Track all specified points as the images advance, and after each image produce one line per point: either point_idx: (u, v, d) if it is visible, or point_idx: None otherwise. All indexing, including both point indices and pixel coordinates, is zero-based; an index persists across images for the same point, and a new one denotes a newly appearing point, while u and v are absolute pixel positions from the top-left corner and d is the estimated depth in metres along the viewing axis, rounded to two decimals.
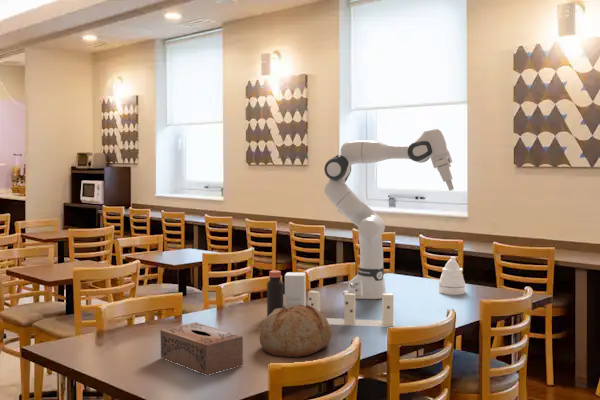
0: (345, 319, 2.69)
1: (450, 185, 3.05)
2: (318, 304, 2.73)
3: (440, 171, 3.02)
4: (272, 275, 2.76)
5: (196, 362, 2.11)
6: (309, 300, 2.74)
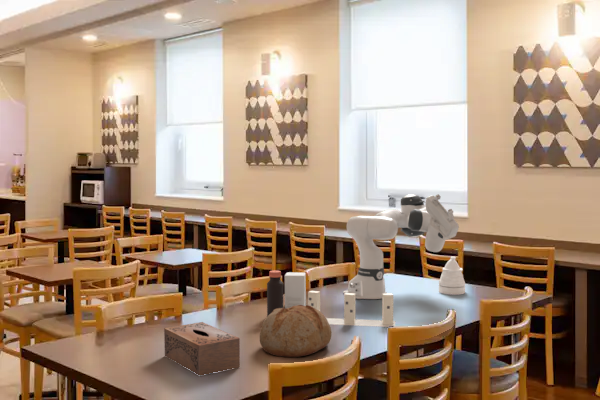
0: (345, 319, 2.69)
1: (450, 215, 2.81)
2: (318, 304, 2.73)
3: (456, 232, 2.84)
4: (272, 275, 2.76)
5: (191, 362, 2.11)
6: (309, 300, 2.74)
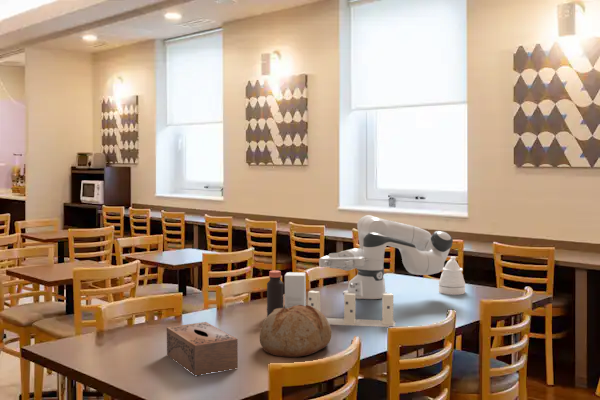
0: (345, 319, 2.69)
1: None
2: (318, 304, 2.73)
3: None
4: (272, 275, 2.76)
5: (189, 362, 2.11)
6: (309, 300, 2.74)
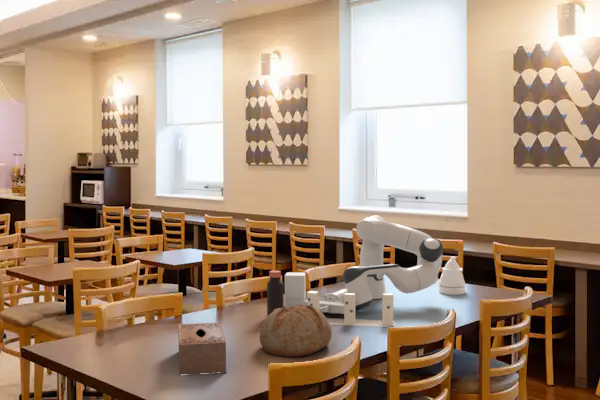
0: (345, 319, 2.69)
1: None
2: (317, 304, 2.73)
3: None
4: (272, 275, 2.76)
5: None
6: (308, 300, 2.73)
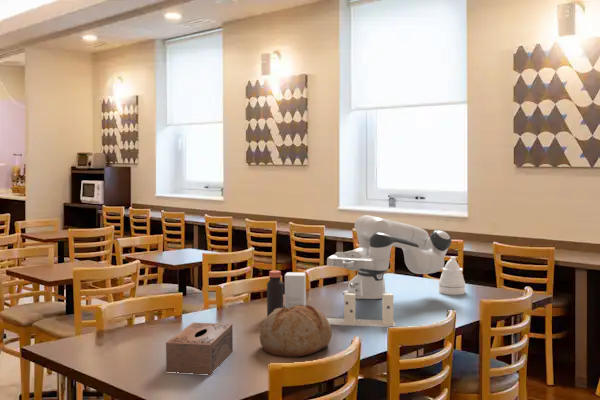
0: (345, 319, 2.69)
1: (343, 263, 2.84)
2: None
3: None
4: (272, 275, 2.76)
5: None
6: None
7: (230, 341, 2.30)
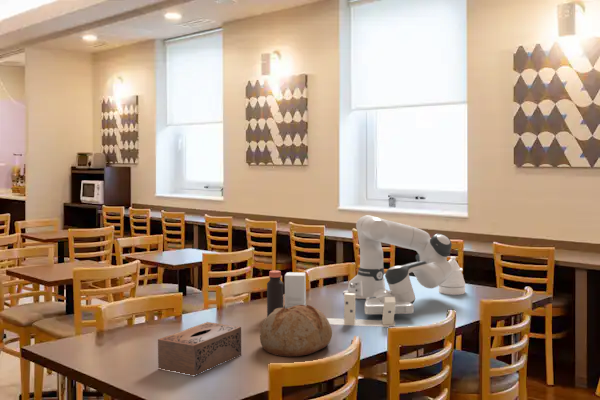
0: (345, 319, 2.69)
1: None
2: None
3: None
4: (272, 275, 2.76)
5: None
6: None
7: (236, 344, 2.27)
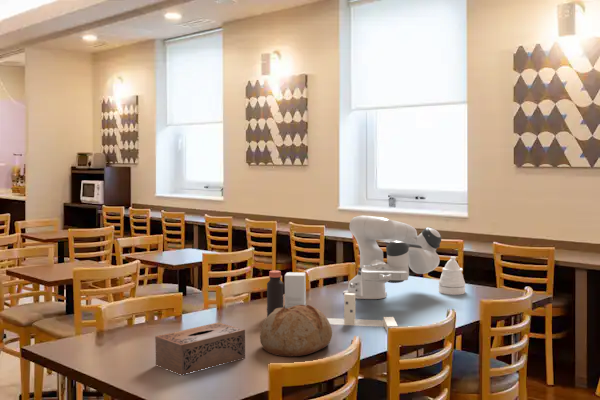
0: (345, 319, 2.69)
1: (381, 276, 2.82)
2: None
3: None
4: (272, 275, 2.76)
5: None
6: None
7: (238, 347, 2.23)
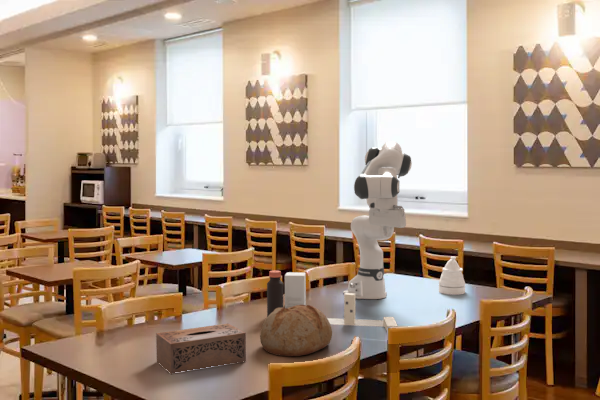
0: (345, 319, 2.69)
1: None
2: None
3: None
4: (272, 275, 2.76)
5: None
6: None
7: (238, 349, 2.20)
